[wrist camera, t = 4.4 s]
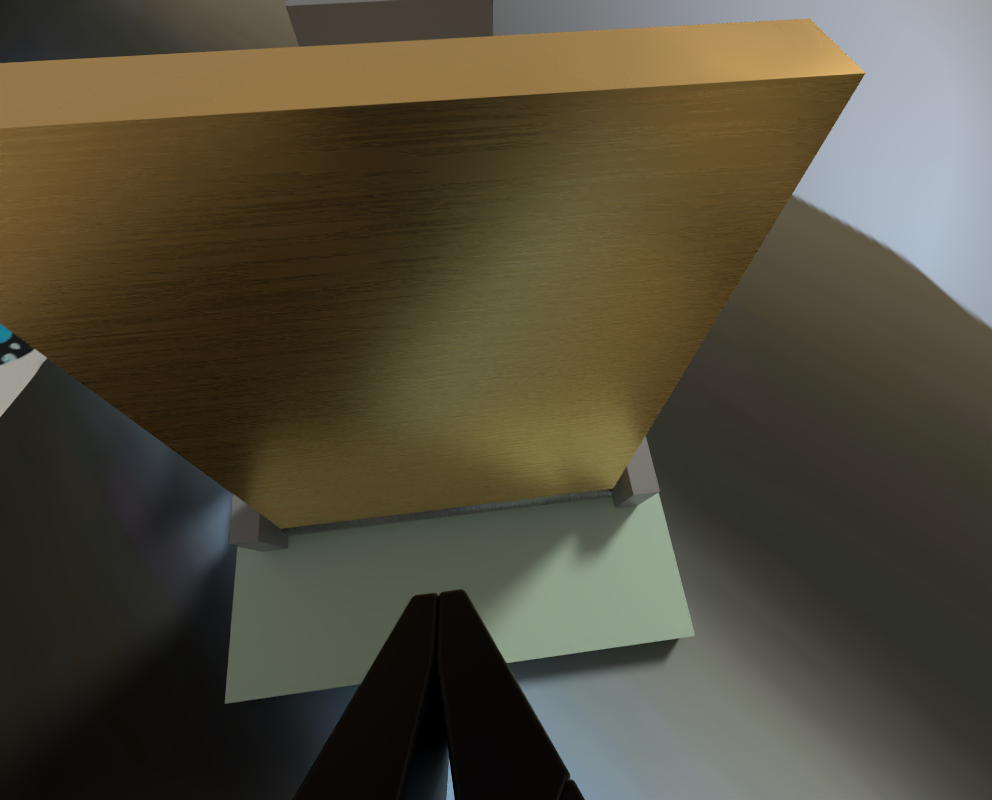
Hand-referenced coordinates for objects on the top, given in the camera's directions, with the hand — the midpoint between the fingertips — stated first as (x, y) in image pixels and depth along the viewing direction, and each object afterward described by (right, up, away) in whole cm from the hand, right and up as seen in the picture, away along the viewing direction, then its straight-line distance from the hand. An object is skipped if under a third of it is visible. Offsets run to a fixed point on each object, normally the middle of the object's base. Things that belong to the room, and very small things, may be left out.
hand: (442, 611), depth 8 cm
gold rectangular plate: (-1, +1, +7) cm, 7 cm away
